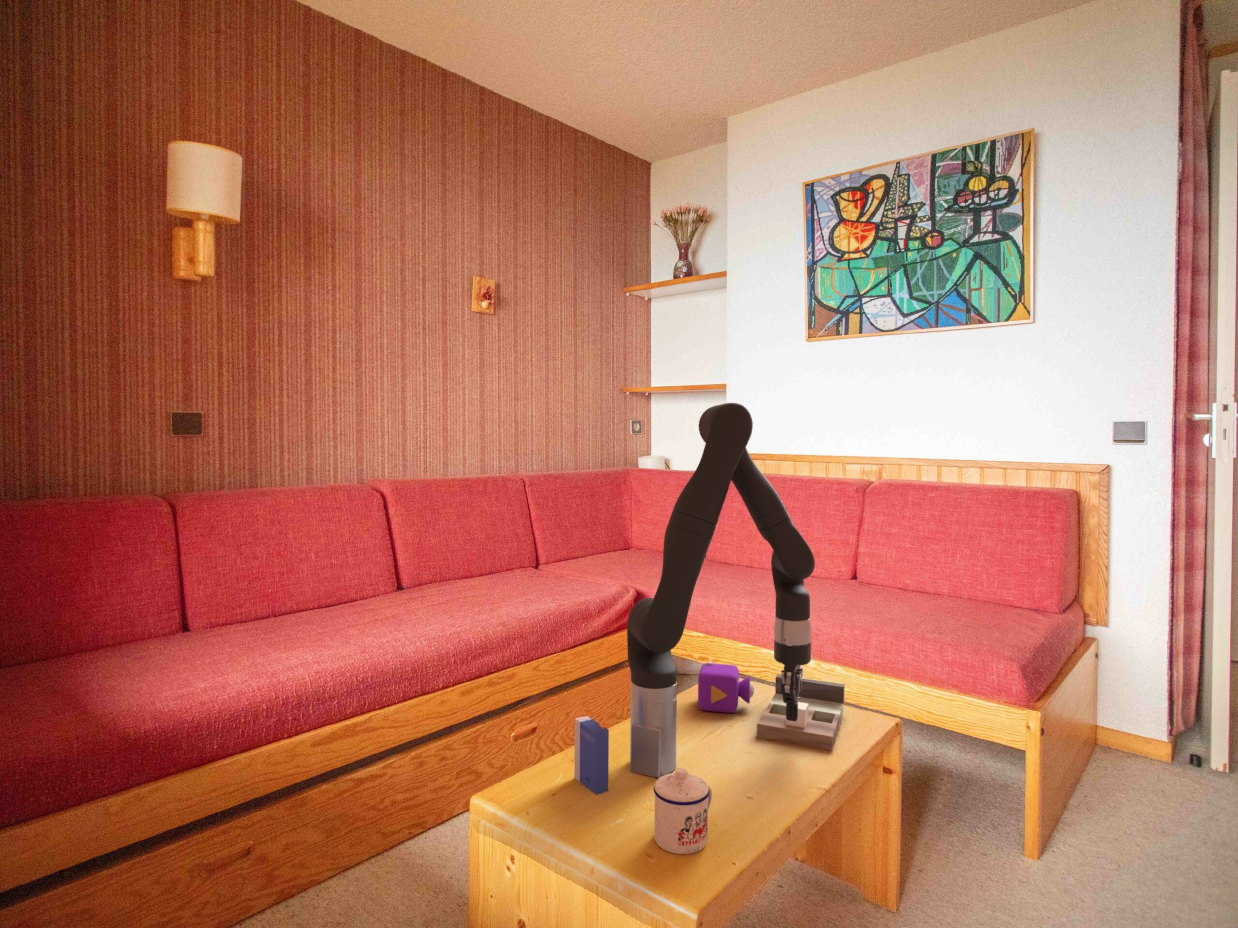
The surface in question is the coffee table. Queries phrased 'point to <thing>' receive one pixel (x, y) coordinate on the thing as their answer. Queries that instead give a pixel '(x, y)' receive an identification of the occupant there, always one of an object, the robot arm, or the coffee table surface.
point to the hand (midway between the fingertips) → (792, 719)
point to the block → (800, 716)
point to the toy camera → (722, 688)
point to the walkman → (591, 754)
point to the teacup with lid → (681, 812)
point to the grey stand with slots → (821, 715)
